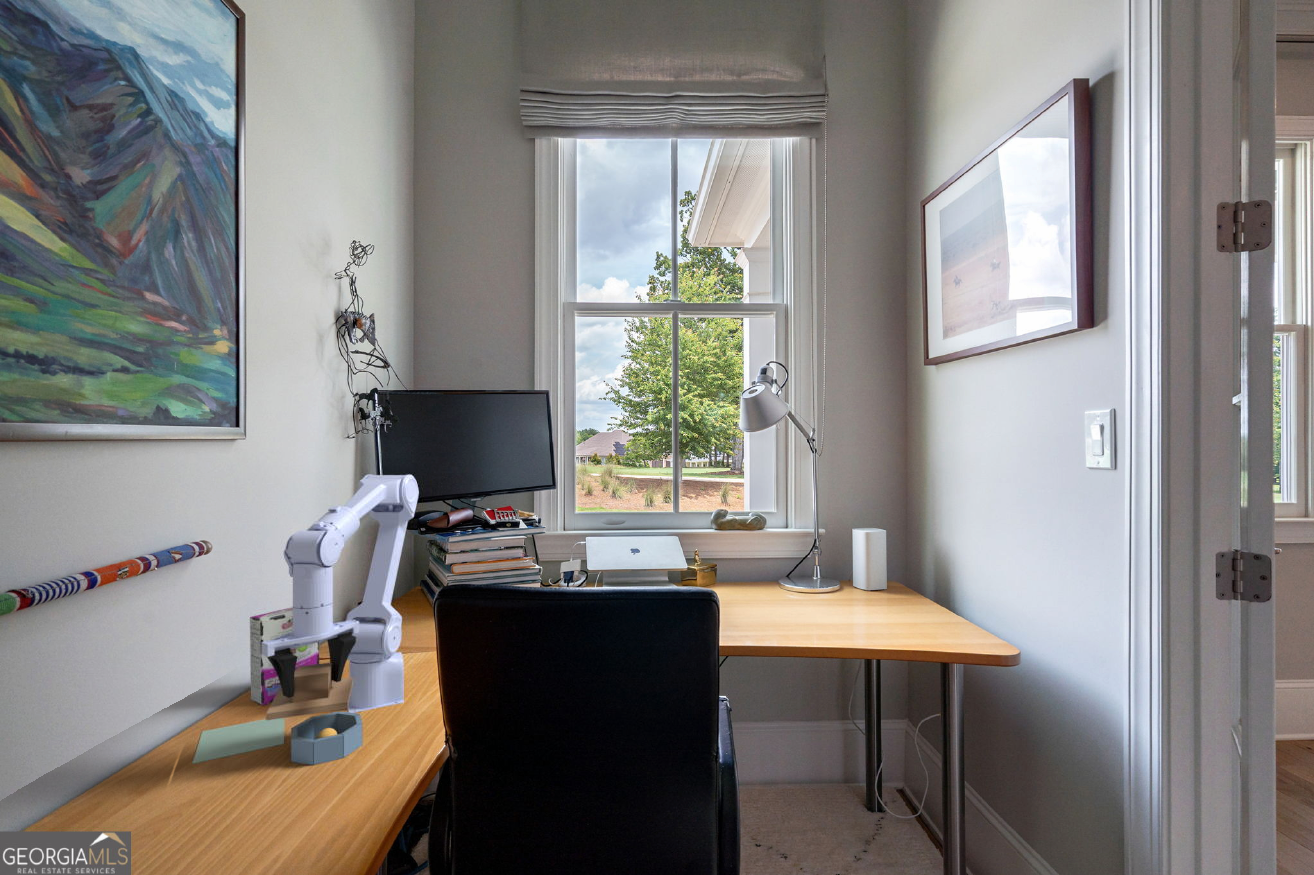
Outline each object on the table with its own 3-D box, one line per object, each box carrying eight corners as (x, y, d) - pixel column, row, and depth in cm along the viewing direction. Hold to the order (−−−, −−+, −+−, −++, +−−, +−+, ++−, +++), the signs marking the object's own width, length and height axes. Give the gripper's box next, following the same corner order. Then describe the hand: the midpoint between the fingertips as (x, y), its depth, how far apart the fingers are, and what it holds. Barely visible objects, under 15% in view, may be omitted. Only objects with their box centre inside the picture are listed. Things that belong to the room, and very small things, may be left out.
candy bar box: (307, 681, 128) (307, 602, 128) (320, 686, 125) (320, 606, 125) (248, 700, 118) (248, 615, 118) (261, 706, 115) (261, 619, 116)
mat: (284, 718, 110) (284, 715, 110) (283, 747, 100) (283, 743, 100) (202, 735, 104) (202, 731, 104) (192, 767, 94) (192, 763, 94)
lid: (353, 683, 107) (353, 654, 107) (347, 708, 96) (347, 676, 97) (280, 692, 102) (280, 663, 103) (266, 720, 92) (266, 687, 92)
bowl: (358, 730, 106) (358, 707, 106) (364, 756, 97) (364, 730, 97) (290, 745, 101) (291, 721, 101) (290, 773, 92) (291, 747, 92)
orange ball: (336, 741, 101) (336, 723, 101) (338, 749, 98) (338, 730, 98) (316, 746, 99) (316, 727, 99) (316, 754, 97) (316, 735, 97)
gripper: (343, 591, 108) (343, 669, 108) (252, 610, 96) (252, 697, 96) (366, 597, 104) (365, 677, 104) (273, 617, 92) (273, 708, 92)
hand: (312, 688), depth 100 cm, fingers closed on lid, 7 cm apart
